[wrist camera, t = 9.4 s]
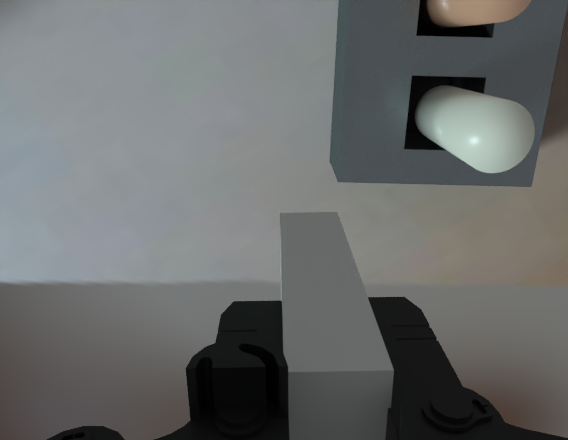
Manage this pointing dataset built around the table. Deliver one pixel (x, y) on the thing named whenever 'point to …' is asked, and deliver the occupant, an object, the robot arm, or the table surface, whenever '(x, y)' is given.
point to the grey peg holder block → (432, 62)
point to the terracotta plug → (469, 11)
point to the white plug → (476, 127)
